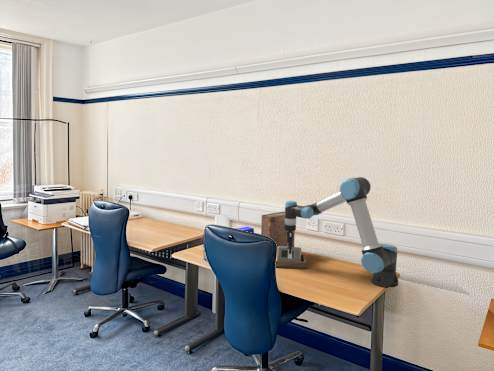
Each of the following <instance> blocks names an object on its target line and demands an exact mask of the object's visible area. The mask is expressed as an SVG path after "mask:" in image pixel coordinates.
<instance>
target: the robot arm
mask: <svg viewBox="0 0 494 371" xmlns="http://www.w3.org/2000/svg"><path fill="white" fill-rule="evenodd" d="M371 186H372V185H371V183H370V181H369V180H368V179H367V178H366V177H361V176H360V177H351V178H347V179H344V180H343V181H342V182H341V184H340V185H339V191H337V192H335V193H333V194H330V195H328V196H327V197H325V198H322V199H320V200H318V201H317V202H314V203H312V204H307V205H298V203H297V201H294V200H287V201H285V204H284V206H285V207H284V211H285V219H284V221H285V230H286V231H288V232H287V237H288V239H287V242H288V243H287V247H288V248H287V249H288V258H289V259H292V240H293V232H292V231H296V229H297V218H302V219H309V220H310V219H311V218H313V216H319V215H321V214H322V213H324V212H325V211H328V210H330V209H332V208H333V209H334V208H335V207H337V206H339V205H342V204H344V203H346V204H347V205H348V206H349V207H350V209H351V212H352V214H353V218H354V221H355V225H356V228H357V230H358V231H357V232H358V234H359V237H360V241H361V245H362V248H361V254H362V256H361V258H360V260H361V261H360V264H361V266H362V267H363V269H365V271H367V272H369V273H371V274H372V275H371V277H370V282H371V283H372V284H373V285H375V286H378V287H383V288H396V287H398V286H399V278H398V275H397V259H398V253H399V251H398V248H397V246H396V245H392V244H390V243H389V244H388V243H380V242H379V241H378V238H377V234H376V231H375V227H374V225H373V221H372V218H371V215H370V211H369V208H368V205H367V202H366V201H367V200H368V196H367V195H368V194H369V193H370V191H371Z"/></svg>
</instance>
